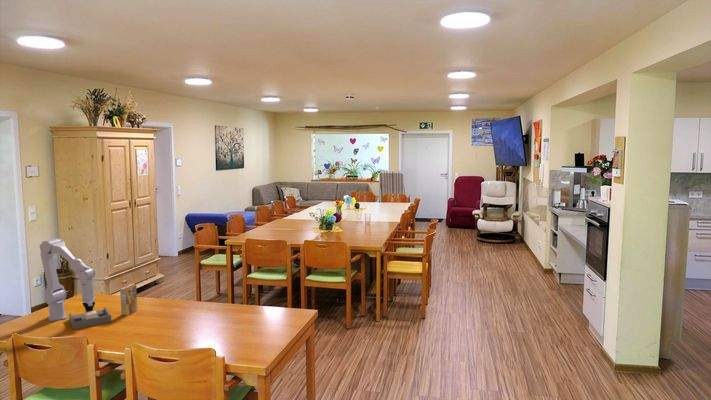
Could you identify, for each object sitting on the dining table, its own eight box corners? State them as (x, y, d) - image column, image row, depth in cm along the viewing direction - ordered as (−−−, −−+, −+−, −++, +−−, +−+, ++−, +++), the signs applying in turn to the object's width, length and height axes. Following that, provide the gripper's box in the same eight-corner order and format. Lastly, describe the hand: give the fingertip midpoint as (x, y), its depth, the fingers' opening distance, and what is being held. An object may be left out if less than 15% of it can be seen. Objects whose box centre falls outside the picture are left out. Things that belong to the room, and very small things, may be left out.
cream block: (85, 319, 262) (84, 312, 262) (95, 317, 265) (95, 310, 265) (86, 322, 258) (86, 314, 258) (97, 320, 261) (96, 312, 261)
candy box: (131, 309, 283) (130, 283, 281) (138, 310, 282) (136, 284, 280) (121, 315, 274) (119, 288, 273) (127, 315, 273) (125, 288, 272)
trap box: (69, 319, 268) (68, 313, 267) (105, 312, 278) (105, 306, 278) (73, 329, 254) (72, 322, 254) (111, 321, 264) (111, 315, 264)
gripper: (98, 293, 261) (100, 317, 262) (94, 286, 272) (95, 310, 274) (83, 295, 257) (85, 320, 258) (79, 288, 268) (81, 312, 270)
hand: (89, 315), depth 266 cm, fingers closed
